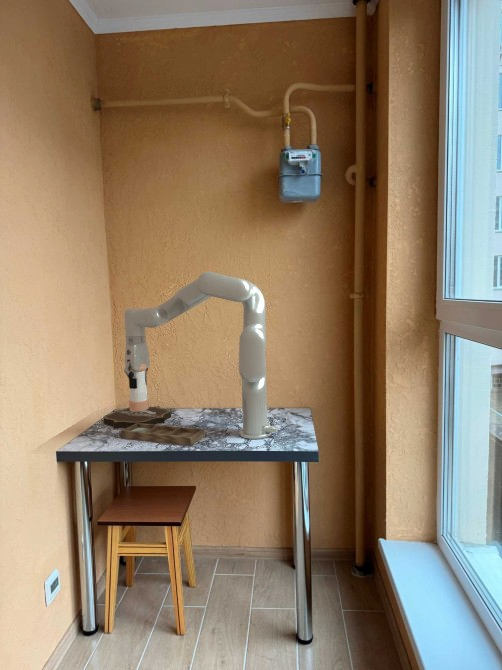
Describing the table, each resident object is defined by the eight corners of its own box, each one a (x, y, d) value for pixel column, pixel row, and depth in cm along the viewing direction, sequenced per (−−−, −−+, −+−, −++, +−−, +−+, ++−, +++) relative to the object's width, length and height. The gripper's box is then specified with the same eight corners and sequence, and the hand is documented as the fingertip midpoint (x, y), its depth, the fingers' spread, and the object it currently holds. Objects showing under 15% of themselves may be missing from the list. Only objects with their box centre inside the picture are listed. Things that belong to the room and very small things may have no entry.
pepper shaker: (133, 406, 186) (131, 358, 184) (151, 406, 185) (149, 359, 183) (126, 411, 179) (124, 361, 177) (144, 411, 178) (142, 362, 176)
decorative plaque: (185, 408, 212) (141, 426, 185) (185, 415, 212) (141, 434, 186) (135, 403, 226) (87, 419, 199) (135, 409, 226) (87, 425, 200)
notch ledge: (205, 436, 178) (204, 429, 178) (190, 446, 168) (190, 438, 168) (137, 430, 190) (137, 422, 189) (120, 438, 180) (120, 430, 179)
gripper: (130, 343, 170) (132, 392, 171) (156, 338, 186) (158, 383, 187) (113, 343, 173) (116, 390, 174) (140, 338, 188) (143, 382, 190)
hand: (138, 386), depth 181 cm, fingers closed on pepper shaker, 5 cm apart
